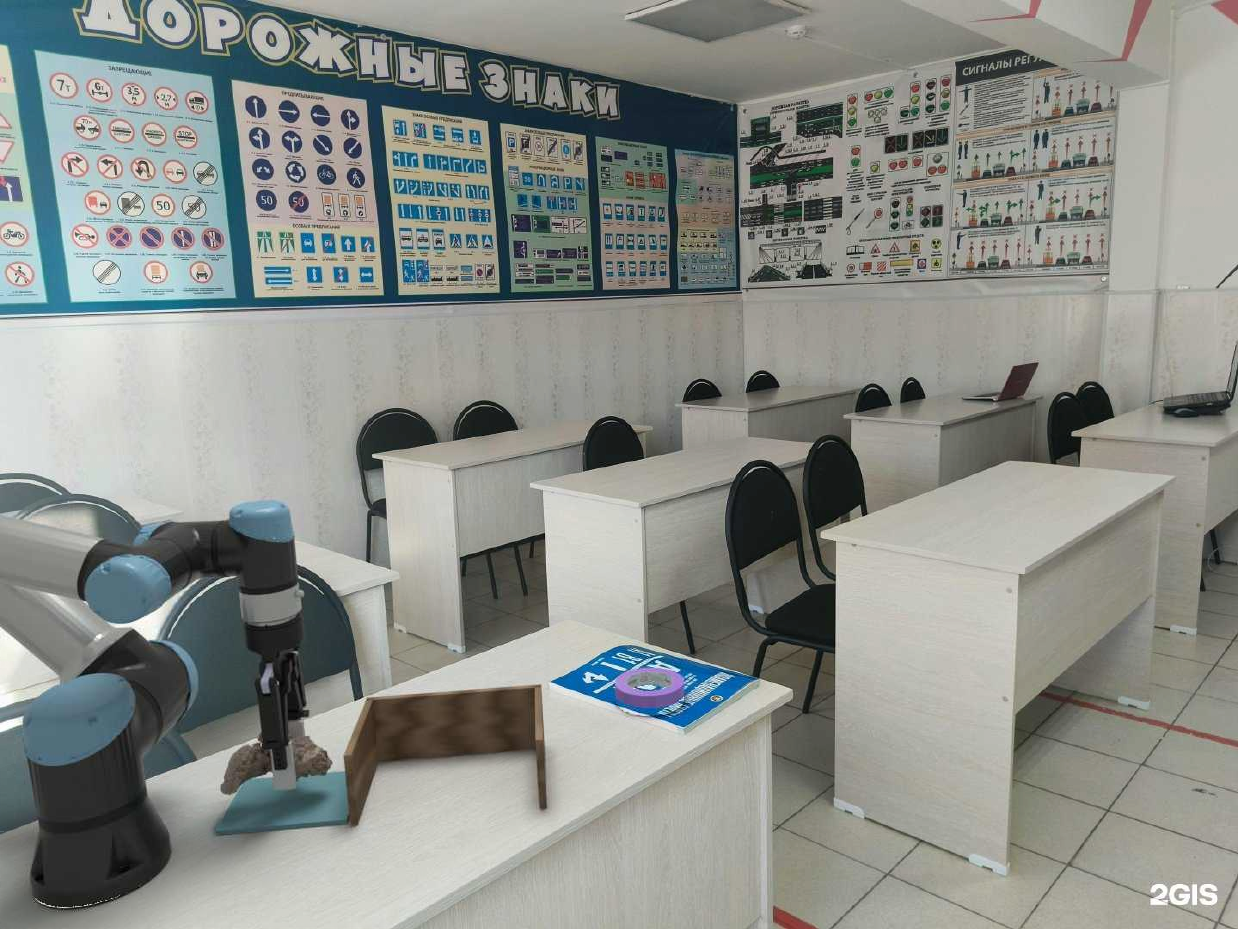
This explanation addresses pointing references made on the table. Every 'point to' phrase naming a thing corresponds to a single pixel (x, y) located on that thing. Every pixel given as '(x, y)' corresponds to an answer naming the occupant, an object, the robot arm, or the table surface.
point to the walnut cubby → (443, 732)
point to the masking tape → (649, 677)
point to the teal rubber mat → (287, 805)
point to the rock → (258, 763)
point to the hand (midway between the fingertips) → (292, 775)
